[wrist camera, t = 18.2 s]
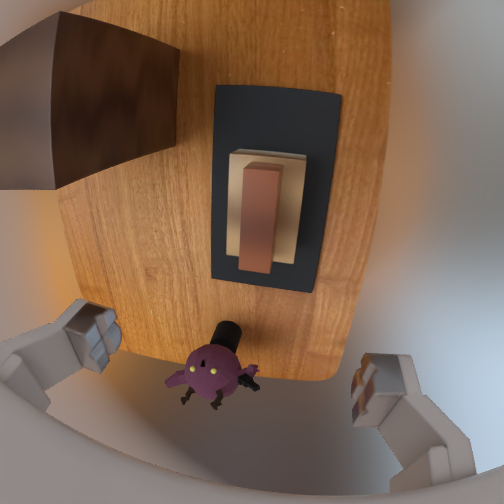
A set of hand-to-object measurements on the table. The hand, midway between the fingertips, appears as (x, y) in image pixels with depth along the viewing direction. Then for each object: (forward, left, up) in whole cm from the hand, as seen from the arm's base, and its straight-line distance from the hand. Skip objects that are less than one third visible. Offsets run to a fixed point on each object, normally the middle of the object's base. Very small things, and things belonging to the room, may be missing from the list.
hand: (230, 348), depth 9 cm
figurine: (+19, -5, -21) cm, 28 cm away
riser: (-8, -15, -20) cm, 26 cm away
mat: (+1, -1, -20) cm, 20 cm away
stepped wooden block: (+1, -1, -20) cm, 20 cm away
